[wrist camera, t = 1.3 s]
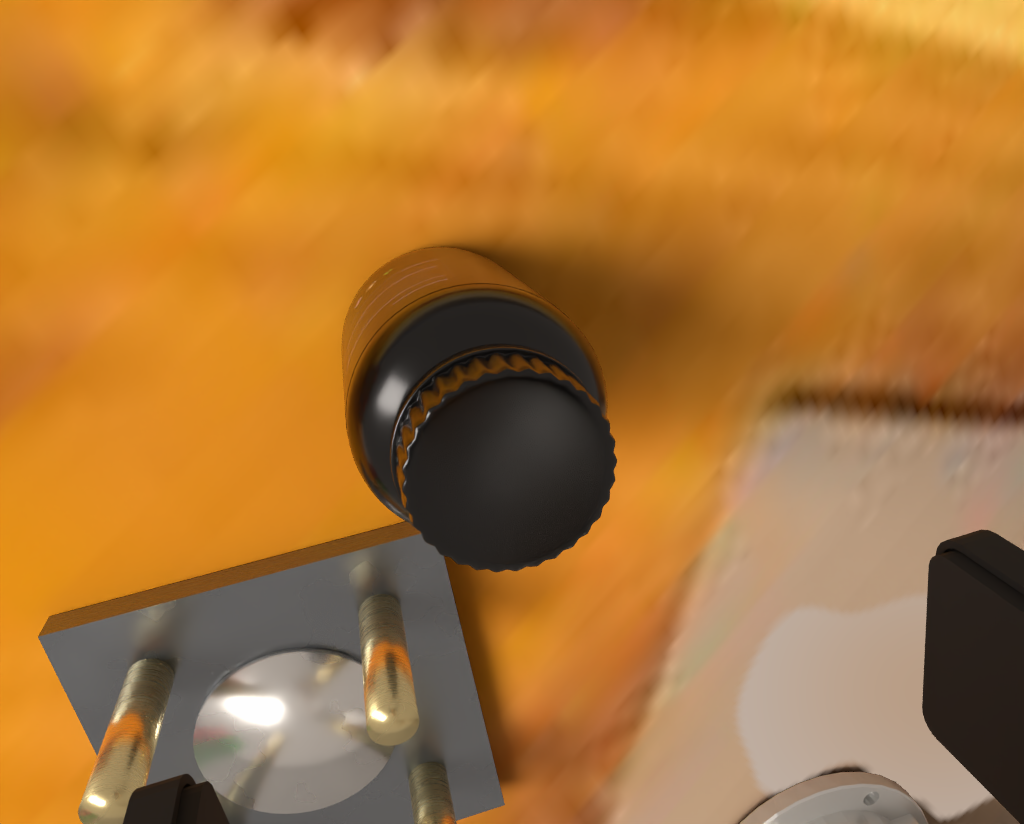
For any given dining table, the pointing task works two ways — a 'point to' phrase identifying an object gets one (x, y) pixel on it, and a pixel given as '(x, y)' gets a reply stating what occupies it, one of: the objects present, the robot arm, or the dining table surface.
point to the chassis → (286, 689)
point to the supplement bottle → (475, 409)
